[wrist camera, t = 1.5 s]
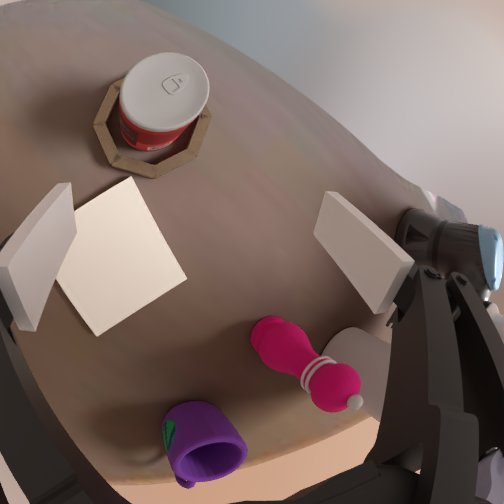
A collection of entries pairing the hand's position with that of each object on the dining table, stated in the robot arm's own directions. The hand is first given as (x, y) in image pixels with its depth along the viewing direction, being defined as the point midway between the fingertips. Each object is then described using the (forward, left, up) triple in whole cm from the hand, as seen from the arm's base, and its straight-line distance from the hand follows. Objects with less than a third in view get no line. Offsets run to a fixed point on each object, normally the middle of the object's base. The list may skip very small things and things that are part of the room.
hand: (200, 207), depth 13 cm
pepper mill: (-5, +25, -20) cm, 32 cm away
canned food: (-4, -9, -20) cm, 23 cm away
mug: (+16, +33, -21) cm, 42 cm away
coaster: (+8, +3, -20) cm, 22 cm away
